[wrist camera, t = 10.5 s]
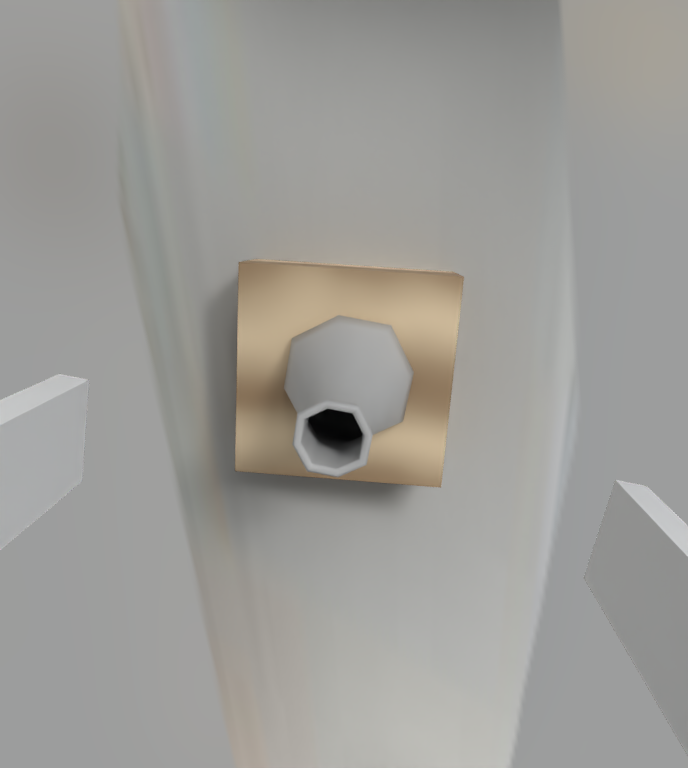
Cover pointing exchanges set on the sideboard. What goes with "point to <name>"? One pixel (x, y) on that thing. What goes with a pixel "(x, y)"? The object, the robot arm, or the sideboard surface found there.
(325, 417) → the flask
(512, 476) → the sideboard surface
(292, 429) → the oak block
